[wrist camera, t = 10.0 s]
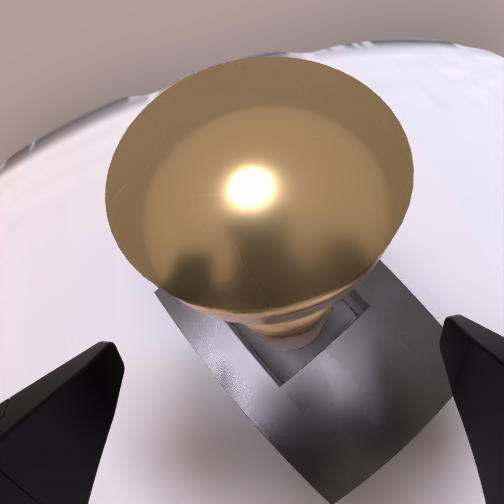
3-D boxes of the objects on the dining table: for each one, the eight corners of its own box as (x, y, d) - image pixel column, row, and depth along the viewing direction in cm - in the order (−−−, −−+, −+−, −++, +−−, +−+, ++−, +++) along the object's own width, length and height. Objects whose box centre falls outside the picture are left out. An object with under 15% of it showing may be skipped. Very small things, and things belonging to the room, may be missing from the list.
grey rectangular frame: (450, 368, 15) (475, 366, 12) (327, 484, 13) (331, 504, 11) (252, 166, 21) (244, 138, 19) (141, 253, 20) (118, 235, 17)
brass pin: (349, 317, 17) (466, 159, 4) (283, 375, 16) (219, 394, 3) (292, 257, 19) (266, 34, 6) (229, 310, 18) (73, 160, 5)
